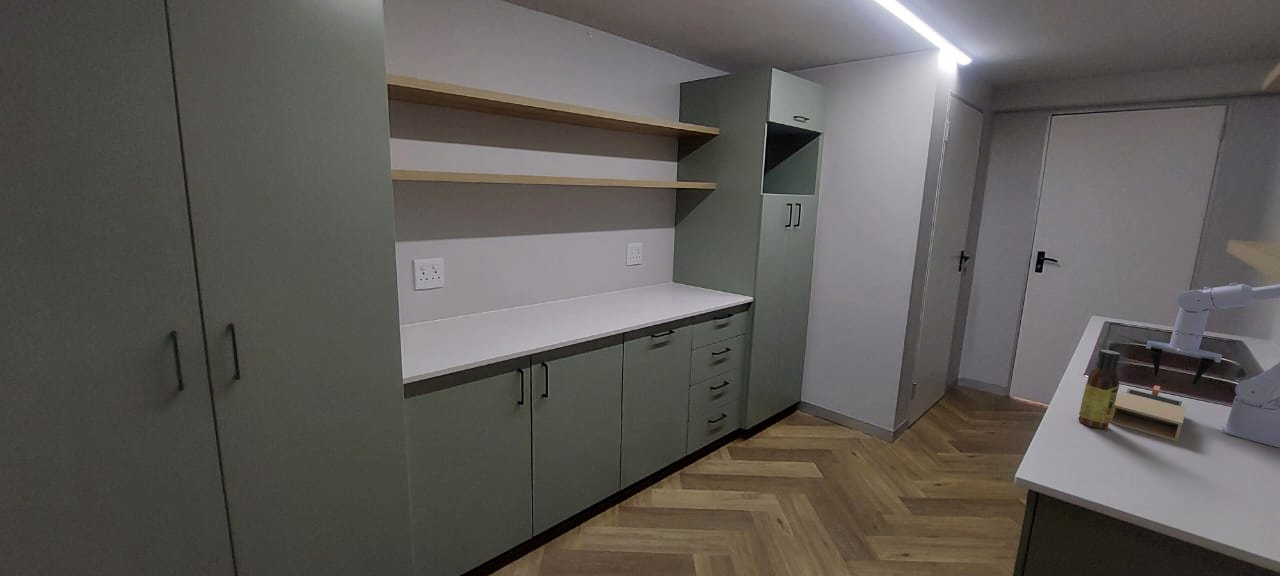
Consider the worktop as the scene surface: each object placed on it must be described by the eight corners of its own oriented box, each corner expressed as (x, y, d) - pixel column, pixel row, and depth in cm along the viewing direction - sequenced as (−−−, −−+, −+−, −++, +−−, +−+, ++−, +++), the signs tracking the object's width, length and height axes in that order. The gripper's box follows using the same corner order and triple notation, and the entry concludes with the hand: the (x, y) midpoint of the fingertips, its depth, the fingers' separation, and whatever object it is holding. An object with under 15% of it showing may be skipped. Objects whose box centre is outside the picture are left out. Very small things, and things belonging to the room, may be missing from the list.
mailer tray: (1175, 426, 136) (1180, 410, 135) (1118, 411, 144) (1122, 396, 143) (1180, 406, 149) (1184, 392, 148) (1128, 393, 157) (1131, 379, 156)
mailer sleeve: (1177, 441, 129) (1182, 423, 128) (1108, 422, 139) (1112, 404, 138) (1181, 425, 139) (1186, 407, 138) (1116, 407, 148) (1120, 391, 147)
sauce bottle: (1109, 432, 132) (1129, 358, 128) (1077, 424, 136) (1095, 352, 132) (1107, 423, 138) (1125, 352, 133) (1076, 416, 141) (1093, 346, 137)
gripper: (1150, 328, 146) (1138, 374, 149) (1226, 342, 136) (1212, 391, 139) (1152, 324, 151) (1140, 369, 154) (1226, 337, 141) (1212, 385, 143)
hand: (1174, 379), depth 147 cm, fingers open, 7 cm apart
